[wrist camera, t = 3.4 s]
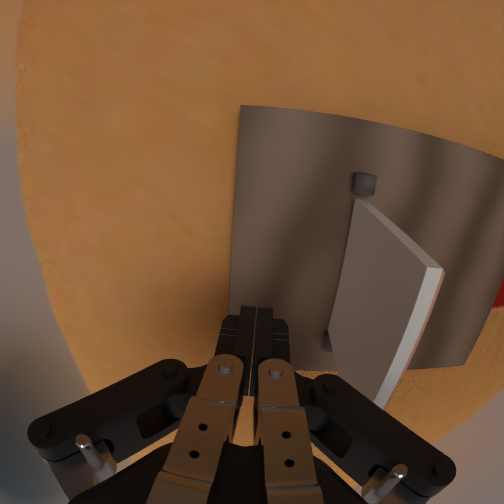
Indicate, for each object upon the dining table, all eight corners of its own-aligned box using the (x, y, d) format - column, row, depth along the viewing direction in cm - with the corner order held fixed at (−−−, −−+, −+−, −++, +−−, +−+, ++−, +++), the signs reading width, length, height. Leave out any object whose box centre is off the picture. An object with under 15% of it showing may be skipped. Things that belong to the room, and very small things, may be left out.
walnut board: (519, 167, 18) (540, 174, 15) (458, 356, 26) (469, 373, 23) (242, 106, 19) (238, 103, 16) (228, 352, 26) (224, 375, 24)
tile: (355, 197, 18) (369, 200, 18) (327, 330, 22) (340, 330, 22) (427, 267, 9) (449, 269, 9) (351, 441, 13) (369, 440, 13)
